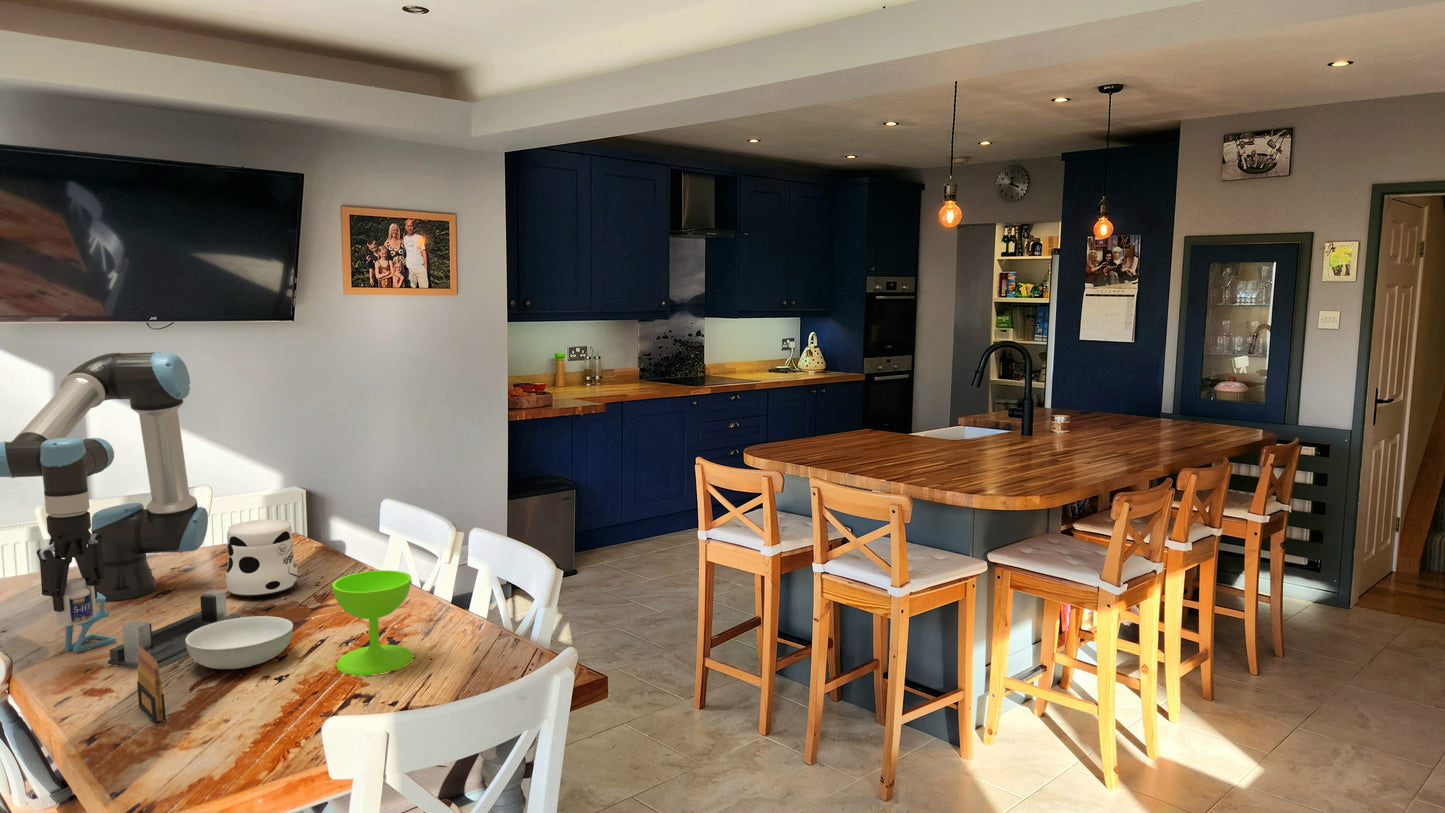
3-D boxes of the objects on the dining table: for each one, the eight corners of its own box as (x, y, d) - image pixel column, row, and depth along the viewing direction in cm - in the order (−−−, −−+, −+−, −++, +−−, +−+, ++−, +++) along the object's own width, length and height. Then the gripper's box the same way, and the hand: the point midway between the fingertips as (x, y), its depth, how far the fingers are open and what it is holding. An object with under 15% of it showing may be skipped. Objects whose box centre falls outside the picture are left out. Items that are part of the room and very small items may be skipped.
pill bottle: (76, 626, 198) (73, 585, 197) (55, 624, 199) (51, 583, 198) (98, 617, 203) (94, 577, 202) (77, 615, 204) (73, 575, 203)
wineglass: (339, 681, 196) (336, 597, 194) (332, 655, 210) (328, 576, 208) (420, 668, 203) (417, 586, 201) (407, 643, 217) (404, 566, 215)
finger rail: (200, 624, 229) (198, 587, 228) (243, 628, 226) (241, 591, 225) (107, 664, 204) (104, 624, 203) (154, 670, 201) (151, 629, 200)
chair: (57, 650, 212) (52, 598, 211) (92, 637, 220) (88, 587, 219) (81, 654, 210) (77, 602, 208) (117, 641, 217) (112, 590, 216)
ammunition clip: (138, 706, 184) (134, 646, 183) (149, 703, 185) (145, 644, 184) (154, 723, 177) (150, 661, 175) (166, 720, 178) (161, 659, 176)
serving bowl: (315, 650, 213) (314, 621, 212) (240, 687, 193) (238, 654, 193) (243, 639, 220) (241, 610, 219) (163, 673, 200) (161, 641, 199)
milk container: (312, 589, 256) (309, 523, 254) (250, 606, 242) (247, 537, 240) (274, 578, 266) (270, 515, 264) (212, 594, 251) (208, 528, 249)
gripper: (91, 501, 208) (100, 604, 211) (11, 522, 190) (22, 634, 193) (120, 503, 206) (128, 607, 209) (41, 525, 188) (52, 637, 191)
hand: (77, 619), depth 201 cm, fingers closed on pill bottle, 5 cm apart
